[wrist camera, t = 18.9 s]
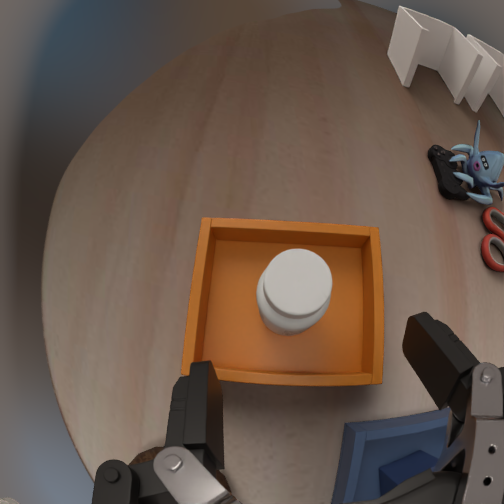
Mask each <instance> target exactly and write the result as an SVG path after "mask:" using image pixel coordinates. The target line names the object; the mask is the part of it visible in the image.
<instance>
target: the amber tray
mask: <svg viewBox="0 0 504 504" xmlns="http://www.w3.org/2000/svg"><path fill="white" fill-rule="evenodd" d="M290 249H305V250H309V251H311V252H314V253H315V254H317V255H318V256H320V257H321V258H322V259H323V260H324V261H325V262H326V264H327V265H328V267H329V269H330V272H331V275H332V290H331V297H330V303H329V306H328V308H327V310H326V312H325V314H324V315H323V316H322V318H321V319H320V320H319V321H318V322H316V323H315V324H314V325H313V326H311V327H310V328H308V329H307V330H306V331H304V332H302V333H300V334H297V335H293V336H283V335H279V334H276V333H274V332H273V331H271V330H270V329H269V328H267V326H266V325H265V324H264V323H263V321H262V319H261V316H260V313H259V309H258V305H257V298H256V291H257V285H258V281H259V279H260V277H261V275H262V273H263V272H264V270H265V269H266V268H267V266H268V265H269V263H270V262H271V261H272V260H273V258H275V257H276V256H277V255H278V254H280V253H282V252H284V251H286V250H290ZM383 356H384V294H383V274H382V259H381V248H380V237H379V228H378V227H366V226H354V225H340V224H326V223H311V222H294V221H276V220H255V219H231V218H202V221H201V227H200V233H199V239H198V245H197V251H196V257H195V264H194V271H193V277H192V284H191V291H190V299H189V306H188V314H187V322H186V331H185V340H184V349H183V359H182V369H181V374H182V375H186V376H189V371H190V364H191V363H192V362H199V361H208V360H211V362H212V364H213V366H214V369H215V372H216V374H217V377H218V380H222V381H231V382H241V383H252V384H265V385H283V386H356V385H370V384H372V385H374V384H382V376H383Z"/></svg>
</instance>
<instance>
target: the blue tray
mask: <svg viewBox="0 0 504 504" xmlns="http://www.w3.org/2000/svg"><path fill="white" fill-rule="evenodd" d="M450 410H451V409H450V407H449V408H445V409H442V410H441V411H440V410H436V411H431V412H426V413H421V414H416V415H410V416H404V417H397V418H390V419H382V420H373V421H363V422H350V423H345V425H344V433H343V440H342V447H341V454H340V460H339V466H338V471H337V477H336V482H335V487H334V492H333V497H332V501H331V504H340V503H348V502H358V501H367V500H374V499H377V498H379V497H381V491H380V478H379V467H382V466H384V465H387V464H389V463H392V462H394V461H396V460H399V459H401V458H403V457H406V456H408V455H410V454H412V453H414V452H416V451H418V450H422V451H424V452H426V453H428V454H430V455H432V456H434V457H436V458H438V459H439V457H440V455H441V453H442V450H443V445H444V440H445V435H446V430H447V424H448V417H449V412H450Z"/></svg>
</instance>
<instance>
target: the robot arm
mask: <svg viewBox="0 0 504 504" xmlns="http://www.w3.org/2000/svg"><path fill="white" fill-rule="evenodd" d="M402 348H403V353H404V355H405V357H406V359H407V360H408V362H409V363H410V365H411V366H412V368H413V369H414V371H415V372H416V374H417V375H418V377H419V378H420V380H421V381H422V383H423V385H424V386H425V388H426V389H427V391H428V392H429V394H430V396H431V397H432V399H433V400H434V402H435V404H436V405H437V407H438V409H439V410H440V411H441V410H442V409H444V408H446V407H448V406H449V407H450V409H451V410H450V412H449V417H448V424H447V430H446V435H445V440H444V445H443V450H442V453H441V455H440V457H439V459H438V461H437V463H436V465H435V468H434V471H433V472H432V470H431V468H429V469H427V470H425V471H423V472H421V473H419V474H417V475H415V476H413V477H411V478H408V479H406V480H404V481H403V482H401V483H400V484H399V485H397V486H396V487H394V488H393V489H391V490H390V491H389V492H387V493H386V494H384V495H383V496H381V497H379V498H377V499H374V500H367V501H358V502H348V503H340V504H504V367H501V368H497V367H496V366H495V365H493V364H491V363H487V362H484V363H480V362H479V361H478V360H477V359H476V357H475V356H474V355H473V354H472V353H471V352H470V350H469V349H468V348H467V347H466V346H465V345H464V344H463V342H462V341H461V340H459V338H458V337H457V336H456V335H455V334H454V332H453V331H452V330H451V329H450V328H449V327H448V326H447V325H446V324H444V323H442V322H440V321H439V320H434V319H433V318H432V317H431V316H430V315H429V314H428V313H427V312H422V313H419V314H416V315H413V316H410V317H409V318H408V321H407V326H406V330H405V335H404V339H403V344H402ZM170 409H171V410H170V412H169V419H168V426H167V434H166V442H165V446H164V448H163V450H162V451H160V452H159V453H158V454H157V455H156V457H155V458H154V459H152V460H149V461H146V462H141V463H137V464H132V465H126V464H125V463H124V462H122V461H119V460H108V461H106V462H104V463H102V464H101V465H100V466H99V468H98V469H97V472H96V477H95V483H94V491H93V498H92V504H242V503H241V502H240V501H239V500H237V499H236V498H235V497H234V496H233V495H232V494H231V493H230V492H228V491H227V490H226V489H225V488H224V487H223V486H222V485H221V484H220V483H219V482H218V481H217V480H216V470H220V469H224V436H223V395H222V389H221V385H220V382H219V380H218V377H217V374H216V372H215V369H214V366H213V364H212V362H211V360H208V361H199V362H192V363H191V364H190V371H189V376H184V377H180V378H179V379H178V381H177V382H176V384H175V385H174V387H173V392H172V401H171V405H170Z"/></svg>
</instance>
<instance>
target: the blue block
mask: <svg viewBox="0 0 504 504" xmlns="http://www.w3.org/2000/svg"><path fill="white" fill-rule="evenodd" d="M437 461H438V458H436V457H434V456H432V455H430V454H428V453H426V452H424V451H422V450H418V451H416V452H414V453H412V454H410V455H408V456H406V457H403V458H401V459H399V460H396V461H394V462H392V463H389V464H387V465H384V466H382V467H379V478H380V491H381V496H383V495H384V494H386V493H387V492H389V491H390V490H391V489H393V488H394V487H396V486H397V485H399V484H400V483H401V482H403V481H404V480H406V479H408V478H411V477H413V476H415V475H417V474H419V473H421V472H423V471H425V470H427V469H429V468H431V470H432V472H433V471H434V468H435V465H436V463H437Z"/></svg>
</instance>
